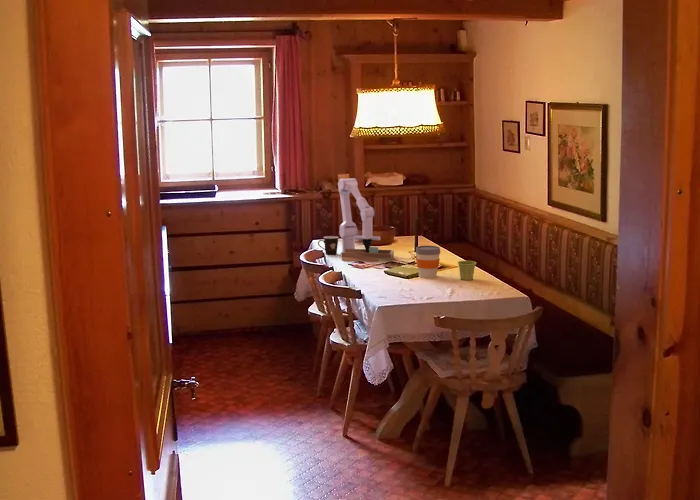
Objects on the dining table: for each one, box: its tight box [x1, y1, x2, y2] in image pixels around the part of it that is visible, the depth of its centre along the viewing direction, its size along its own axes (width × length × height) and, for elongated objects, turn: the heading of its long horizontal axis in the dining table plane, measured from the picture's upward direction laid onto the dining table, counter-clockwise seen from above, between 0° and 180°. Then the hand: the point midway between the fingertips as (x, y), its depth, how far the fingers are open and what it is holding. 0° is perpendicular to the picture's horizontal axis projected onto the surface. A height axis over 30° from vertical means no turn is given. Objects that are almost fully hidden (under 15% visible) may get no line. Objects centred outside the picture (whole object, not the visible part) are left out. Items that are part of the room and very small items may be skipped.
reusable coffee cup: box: [415, 245, 441, 279], centre depth 437 cm, size 12×13×15 cm
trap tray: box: [341, 248, 395, 262], centre depth 485 cm, size 13×28×4 cm, turn 81°
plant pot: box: [457, 260, 477, 281], centre depth 431 cm, size 9×9×9 cm
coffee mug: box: [317, 235, 339, 256], centre depth 500 cm, size 12×9×10 cm
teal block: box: [369, 245, 379, 253], centre depth 486 cm, size 4×4×4 cm
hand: (367, 252), depth 487 cm, fingers closed
